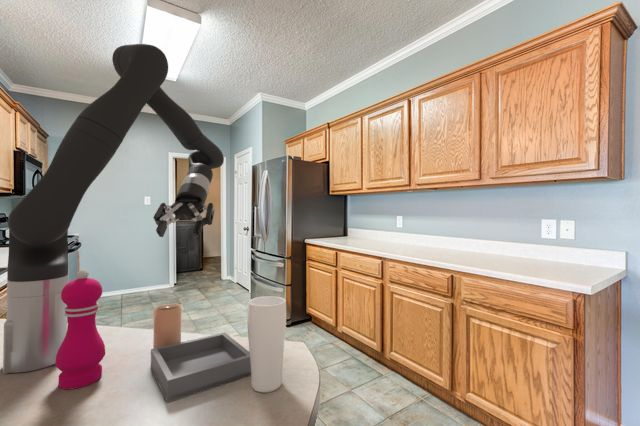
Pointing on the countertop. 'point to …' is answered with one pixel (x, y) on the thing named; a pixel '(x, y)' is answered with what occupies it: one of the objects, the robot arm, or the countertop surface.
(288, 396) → the countertop surface
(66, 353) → the pepper mill
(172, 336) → the terracotta cup
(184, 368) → the charcoal tray
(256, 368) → the drinking glass
